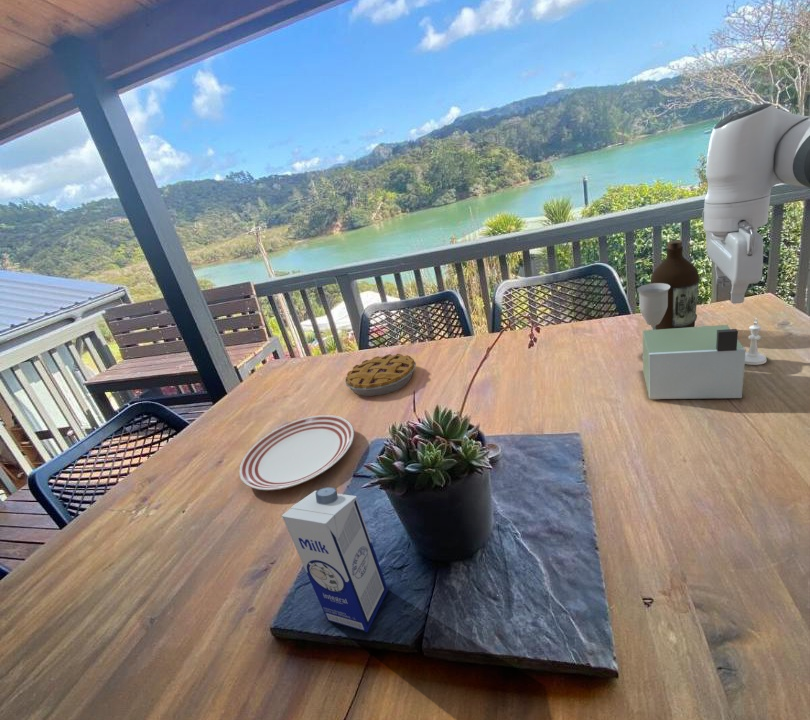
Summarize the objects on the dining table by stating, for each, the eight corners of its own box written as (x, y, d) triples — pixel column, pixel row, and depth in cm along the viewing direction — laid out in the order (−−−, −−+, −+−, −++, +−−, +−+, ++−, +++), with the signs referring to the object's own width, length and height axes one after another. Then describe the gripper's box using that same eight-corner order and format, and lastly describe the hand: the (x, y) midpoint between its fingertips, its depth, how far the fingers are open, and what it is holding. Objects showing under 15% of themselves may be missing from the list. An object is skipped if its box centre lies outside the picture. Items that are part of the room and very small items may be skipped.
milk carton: (326, 620, 62) (279, 514, 55) (349, 580, 68) (310, 479, 60) (368, 632, 59) (325, 522, 52) (389, 589, 65) (353, 484, 57)
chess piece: (736, 363, 98) (739, 322, 94) (740, 354, 101) (743, 314, 97) (764, 366, 94) (769, 323, 91) (768, 356, 98) (772, 315, 94)
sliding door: (742, 398, 86) (748, 330, 80) (649, 399, 92) (649, 336, 87) (740, 395, 87) (746, 328, 81) (649, 396, 93) (648, 334, 88)
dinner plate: (320, 503, 86) (315, 490, 85) (218, 494, 97) (212, 482, 96) (375, 425, 109) (371, 414, 108) (287, 425, 120) (283, 415, 119)
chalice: (644, 349, 113) (643, 283, 107) (673, 352, 109) (674, 283, 102) (633, 361, 109) (631, 292, 102) (663, 365, 104) (664, 293, 97)
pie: (404, 397, 119) (400, 381, 117) (336, 400, 127) (331, 385, 126) (426, 362, 138) (423, 348, 136) (365, 366, 146) (361, 353, 144)
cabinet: (739, 396, 87) (744, 348, 83) (648, 397, 94) (648, 352, 89) (724, 369, 97) (727, 324, 93) (643, 372, 104) (642, 330, 99)
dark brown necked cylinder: (641, 334, 122) (640, 245, 112) (675, 324, 123) (677, 235, 113) (670, 346, 112) (672, 249, 102) (707, 334, 113) (711, 238, 103)
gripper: (780, 223, 64) (770, 311, 69) (740, 203, 81) (735, 276, 86) (728, 230, 66) (722, 315, 72) (700, 210, 83) (697, 279, 89)
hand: (729, 293), depth 79 cm, fingers open, 8 cm apart
